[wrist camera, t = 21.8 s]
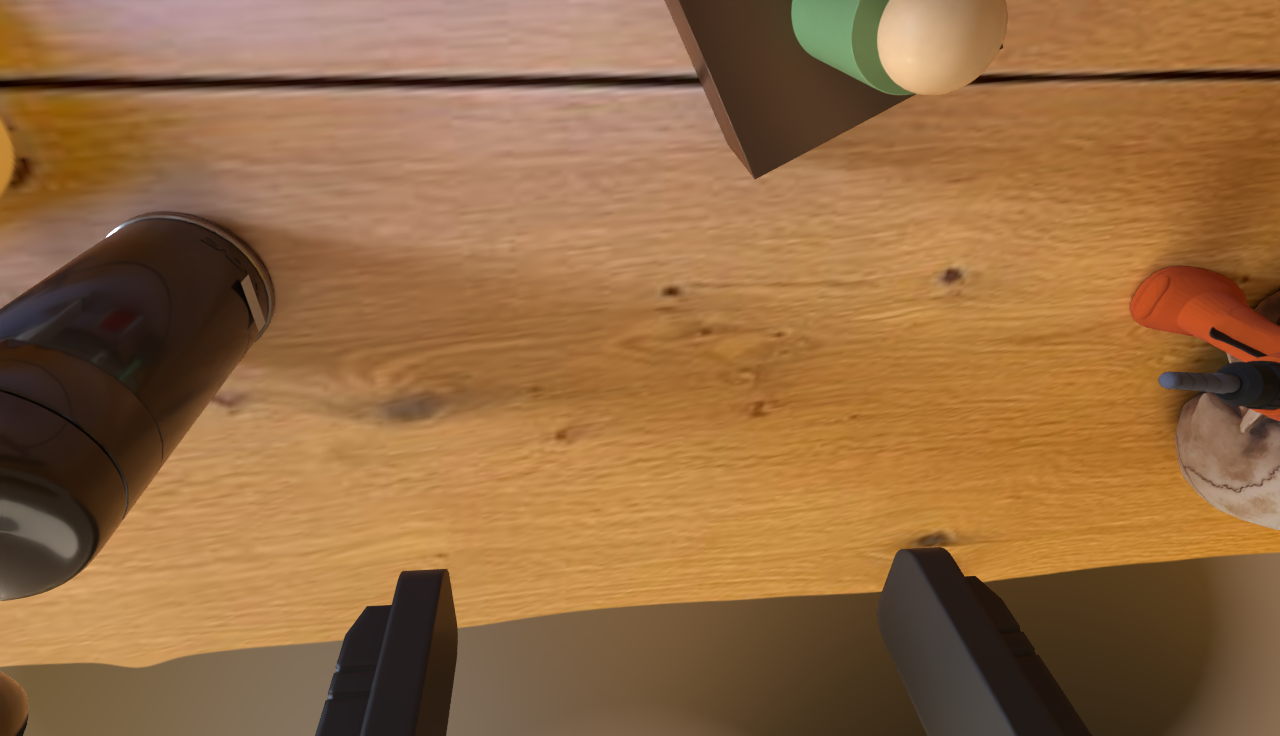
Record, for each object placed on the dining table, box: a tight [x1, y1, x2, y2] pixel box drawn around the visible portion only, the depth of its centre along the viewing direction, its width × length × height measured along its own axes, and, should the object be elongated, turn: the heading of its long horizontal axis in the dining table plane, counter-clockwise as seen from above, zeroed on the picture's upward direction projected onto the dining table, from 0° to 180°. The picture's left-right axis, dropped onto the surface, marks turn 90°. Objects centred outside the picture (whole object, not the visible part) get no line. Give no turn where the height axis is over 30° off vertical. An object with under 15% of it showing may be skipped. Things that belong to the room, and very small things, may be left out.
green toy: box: [791, 0, 1008, 95], centre depth 26 cm, size 5×5×11 cm
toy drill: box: [1130, 266, 1280, 421], centre depth 42 cm, size 5×19×15 cm, turn 79°
